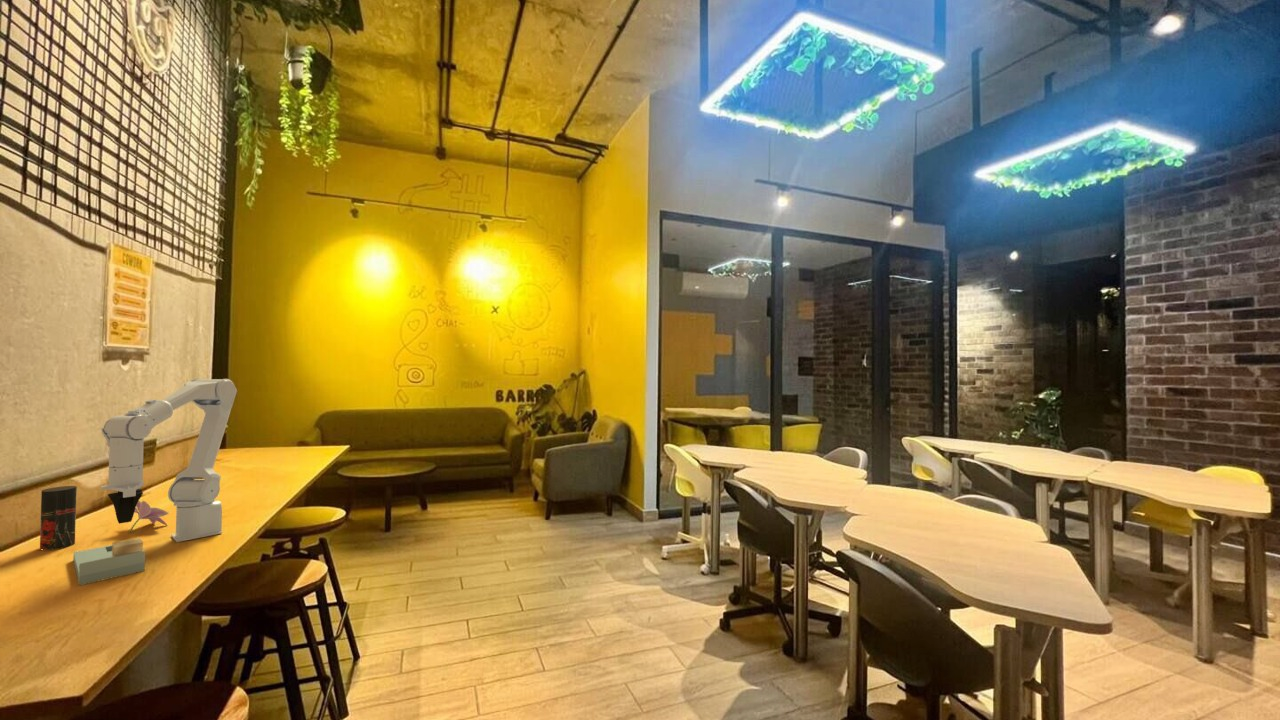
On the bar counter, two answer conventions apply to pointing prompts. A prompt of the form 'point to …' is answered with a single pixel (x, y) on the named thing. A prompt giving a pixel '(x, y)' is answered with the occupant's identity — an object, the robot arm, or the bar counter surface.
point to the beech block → (127, 547)
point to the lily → (149, 513)
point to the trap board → (106, 564)
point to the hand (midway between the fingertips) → (124, 522)
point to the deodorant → (58, 517)
